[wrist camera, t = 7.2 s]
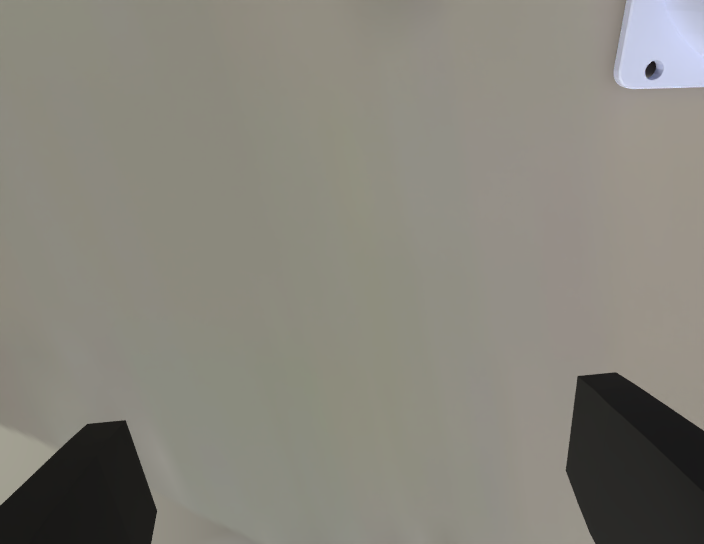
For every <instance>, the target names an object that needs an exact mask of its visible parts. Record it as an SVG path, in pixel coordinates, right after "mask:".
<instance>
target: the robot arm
mask: <svg viewBox="0 0 704 544" xmlns="http://www.w3.org/2000/svg"><path fill="white" fill-rule="evenodd" d="M652 61H655V63H656V70H655V72H654V74H653V75H651V76H650V77H648V78H647V77H646V76H645V70H646V67H647V65H648V64H649V63H651V62H652ZM614 78H615V80H616V83H618V84H619V85H620V86H622V87H625V88H630V89H649V88H685V87H704V0H626V6H625V11H624V17H623V22H622V28H621V33H620V38H619V44H618V49H617V55H616V60H615V66H614ZM566 472H567V475H568V477H569V480H570V483H571V485H572V488H573V491H574V494H575V496H576V499H577V502H578V504H579V507H580V509H581V512H582V514H583V517H584V519H585V522H586V524H587V527H588V529H589V532H590V534H591V536H592V538H593V540H594V542H595V544H704V431H703V430H702V429H700V428H699V427H697V426H696V425H694V424H693V423H691V422H690V421H688V420H687V419H685V418H684V417H682V416H681V415H680V414H678V413H677V412H675V411H674V410H672V409H671V408H669V407H668V406H666V405H665V404H663V403H662V402H660V401H659V400H657V399H656V398H654V397H653V396H651V395H650V394H649V393H647V392H646V391H644V390H643V389H641V388H640V387H638V386H637V385H635V384H633V383H632V382H630V381H629V380H627V379H626V378H624V377H622V376H621V375H619V374H618V373H616V372H615V373H605V374H595V375H585V376H578V378H577V386H576V394H575V402H574V410H573V418H572V426H571V434H570V442H569V450H568V458H567V466H566ZM156 514H157V509H156V506H155V504H154V501H153V498H152V495H151V492H150V489H149V486H148V483H147V480H146V478H145V475H144V472H143V469H142V466H141V463H140V460H139V457H138V455H137V452H136V449H135V446H134V443H133V440H132V437H131V434H130V432H129V429H128V426H127V423H126V420H124V421H114V422H103V423H93V424H87V425H86V426H85V427H83V428H82V429H81V430H80V431H79V432H78V433H77V434H75V435H74V436H73V437H72V438H71V439H70V440H69V441H68V442H67V443H66V444H65V445H64V446H63V447H61V448H60V449H59V450H58V451H57V452H56V453H55V454H54V455H53V456H52V457H51V458H50V459H49V460H48V461H47V462H46V463H45V464H44V465H43V466H42V467H41V468H40V469H38V470H37V471H36V472H35V473H34V474H33V475H32V476H31V477H30V478H29V479H28V480H27V481H26V482H25V483H24V484H23V485H22V486H21V487H20V488H19V489H17V490H16V491H15V492H14V493H13V494H12V495H11V496H10V497H9V498H8V499H7V500H6V501H5V502H4V503H3V504H2V505H0V544H151V541H152V535H153V530H154V524H155V519H156Z"/></svg>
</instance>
